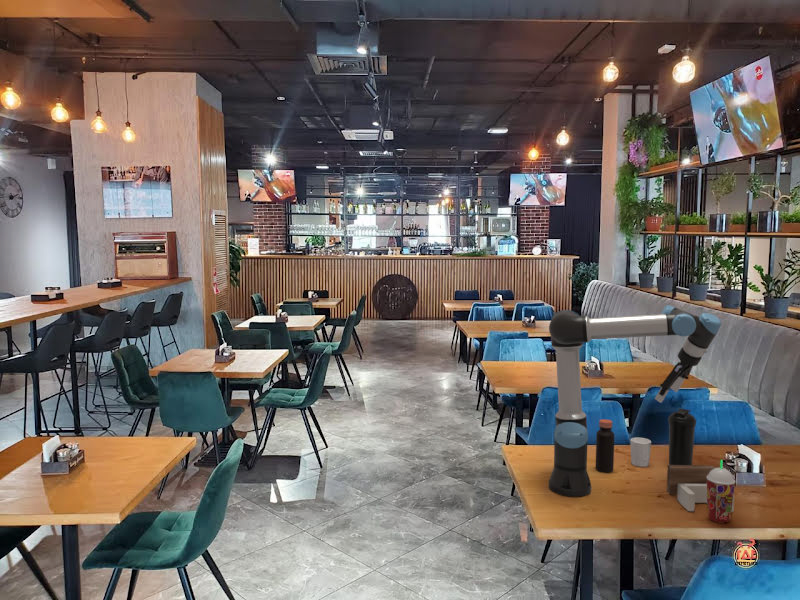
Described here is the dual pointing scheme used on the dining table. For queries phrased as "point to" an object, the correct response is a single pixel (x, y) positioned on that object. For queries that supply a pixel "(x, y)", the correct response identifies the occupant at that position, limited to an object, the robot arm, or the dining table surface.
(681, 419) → the water bottle
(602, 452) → the vinegar
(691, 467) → the backstop wall
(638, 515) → the dining table surface
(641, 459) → the white cup
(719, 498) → the smoothie
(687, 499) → the frame
